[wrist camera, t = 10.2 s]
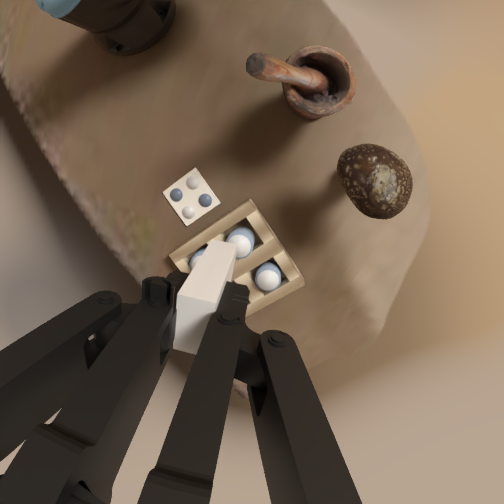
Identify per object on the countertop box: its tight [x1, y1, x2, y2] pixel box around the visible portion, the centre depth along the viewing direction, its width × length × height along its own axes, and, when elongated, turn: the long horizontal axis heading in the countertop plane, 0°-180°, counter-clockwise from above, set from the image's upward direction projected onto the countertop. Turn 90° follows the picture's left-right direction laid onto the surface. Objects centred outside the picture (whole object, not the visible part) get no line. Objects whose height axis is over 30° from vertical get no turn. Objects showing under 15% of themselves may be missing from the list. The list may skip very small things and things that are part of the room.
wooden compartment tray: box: [169, 198, 305, 317], centre depth 51 cm, size 16×16×3 cm
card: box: [163, 168, 220, 226], centre depth 49 cm, size 7×7×1 cm
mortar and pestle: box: [246, 45, 356, 119], centre depth 33 cm, size 12×9×20 cm
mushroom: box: [337, 144, 413, 219], centre depth 38 cm, size 10×9×15 cm
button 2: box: [226, 226, 255, 259], centre depth 46 cm, size 4×4×4 cm
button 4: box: [255, 260, 281, 291], centre depth 50 cm, size 4×4×4 cm
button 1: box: [190, 246, 207, 270], centre depth 50 cm, size 4×4×4 cm
